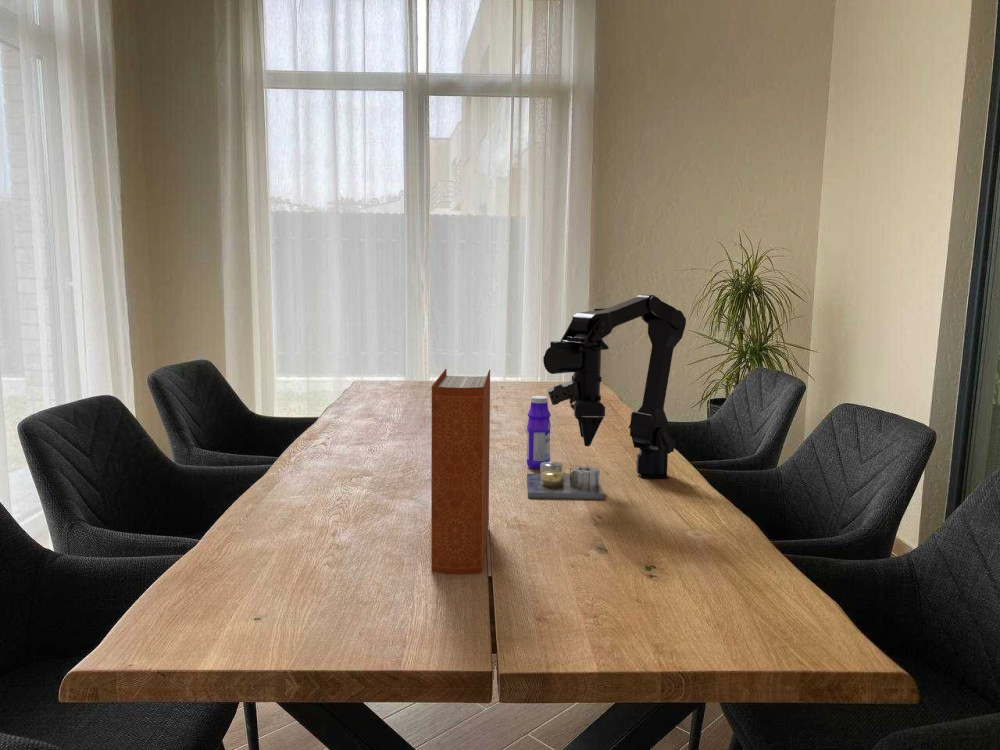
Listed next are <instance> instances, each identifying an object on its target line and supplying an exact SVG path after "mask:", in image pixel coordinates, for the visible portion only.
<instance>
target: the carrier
mask: <svg viewBox="0 0 1000 750" xmlns="http://www.w3.org/2000/svg"><path fill="white" fill-rule="evenodd" d="M539 471H540V473H526V484H527V486H526V488H527V498H528V499H550V500H551V499H552V500H553V499H555V500H557V499H558V500H560V499H561V500H562V499H563V500H564V499H565V500H572V499H573V500H604V498H605V497H604V491H603V489H602V486H601V484H600V483H599V487H593V488H592V489H589V488H582V489H581V488H578V487H575V486H573V487H572V486H570V473H565V472H563V463H561V462H558V461H550V462H542V463H541V464H540V469H539Z"/></svg>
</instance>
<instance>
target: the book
mask: <svg viewBox="0 0 1000 750" xmlns="http://www.w3.org/2000/svg"><path fill="white" fill-rule="evenodd" d="M490 412H491V369H489V370H488V371H487V374H486V376H485V375H484V376H479V375H478V376H468V375H467V376H466V375H465V376H462V375H461V376H459V375H447V368H445V369H444V370H443V371H442V372H441V374H440V375H439V376H438V377H437V379H436V380H435V381H434V382H433V384H431V475H430V476H431V488H430V489H431V500H430V501H431V507H430V508H431V520H430V521H431V523H430V525H431V528H430V529H431V535H430V536H431V539H430V541H431V543H430V545H431V546H430V547H431V549H430V550H431V554H430V555H431V559H430V561H431V562H430V564H431V565H430V566H431V571H430V572H432V573H436V574H441V575H453V576H465V575H467V576H468V575H479V574H483V571H484V563H485V557H486V551H487V550H486V549H487V548H486V547H487V542H488V535H489V521H490V519H489V518H490V517H489V516H490V514H489V513H490V512H489V511H490V510H489V508H490V504H489V503H490V439H491V438H490V428H491V427H490V426H491V425H490V422H491V421H490V420H491V419H490V418H491V413H490Z"/></svg>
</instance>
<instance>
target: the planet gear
mask: <svg viewBox="0 0 1000 750" xmlns="http://www.w3.org/2000/svg"><path fill="white" fill-rule="evenodd" d="M569 474H570V486H572V487H573V486H575V487H578V488H581V489H582V488H589V489H592V488H593V487H599V484H600V468H598V467H593V466H589V465H586V466H585V465H584V466H583V465H582V466H581V465H576V466H574V467H573V466H571V467H570V468H569Z"/></svg>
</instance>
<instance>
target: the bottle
mask: <svg viewBox="0 0 1000 750" xmlns="http://www.w3.org/2000/svg"><path fill="white" fill-rule="evenodd" d="M548 397H549V396H546V395H545V396H544V395H533V396H530V408H529V410H528V413H527V416H528V420H527V427H526V430H527V434H526V435H527V436H526V438H527V442H526V465H527V467H528V468H530V469H535V470H536V469H538V470H540V464H541V463H542V462H551V427H552V426H551V425H552V424H551V420H550V419H551V416H552V414H551V412H550V410H549V404H548V403H549V402H548V400H549V399H548Z"/></svg>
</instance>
